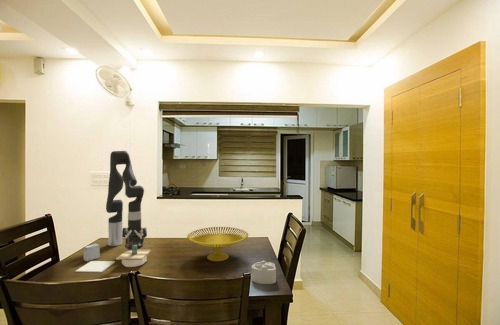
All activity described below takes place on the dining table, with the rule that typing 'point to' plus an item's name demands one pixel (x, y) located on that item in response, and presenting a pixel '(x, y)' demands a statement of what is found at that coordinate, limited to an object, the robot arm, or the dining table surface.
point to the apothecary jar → (134, 241)
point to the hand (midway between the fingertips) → (134, 244)
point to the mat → (95, 266)
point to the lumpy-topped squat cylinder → (263, 273)
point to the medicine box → (91, 252)
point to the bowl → (134, 262)
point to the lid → (133, 254)
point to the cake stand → (217, 240)
